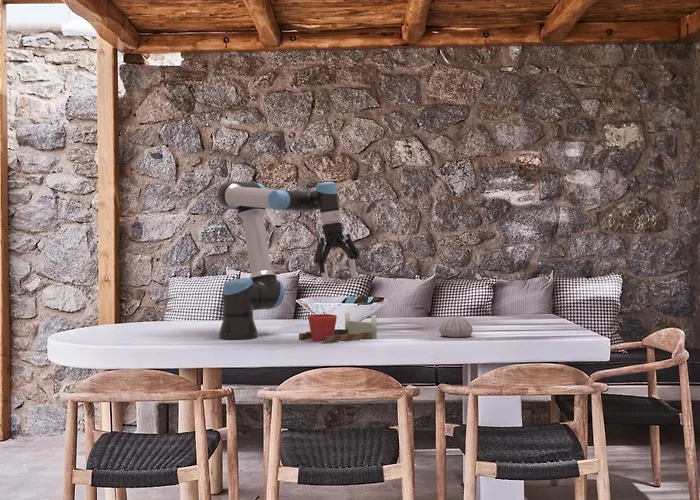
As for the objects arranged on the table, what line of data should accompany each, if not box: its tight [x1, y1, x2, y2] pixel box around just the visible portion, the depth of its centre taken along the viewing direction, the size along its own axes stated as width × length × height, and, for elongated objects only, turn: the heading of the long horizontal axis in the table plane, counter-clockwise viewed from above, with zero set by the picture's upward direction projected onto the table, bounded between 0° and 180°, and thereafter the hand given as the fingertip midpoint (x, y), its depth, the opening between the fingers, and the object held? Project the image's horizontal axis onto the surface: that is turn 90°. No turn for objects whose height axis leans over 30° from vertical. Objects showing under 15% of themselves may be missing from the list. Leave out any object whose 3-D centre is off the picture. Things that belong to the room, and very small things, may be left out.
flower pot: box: [307, 313, 338, 342], centre depth 303 cm, size 11×11×10 cm
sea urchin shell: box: [438, 315, 473, 339], centre depth 312 cm, size 13×14×8 cm
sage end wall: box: [344, 312, 378, 339], centre depth 314 cm, size 2×18×9 cm, turn 39°
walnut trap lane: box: [298, 328, 372, 345], centre depth 308 cm, size 25×19×2 cm
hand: (340, 278), depth 298 cm, fingers open, 13 cm apart
